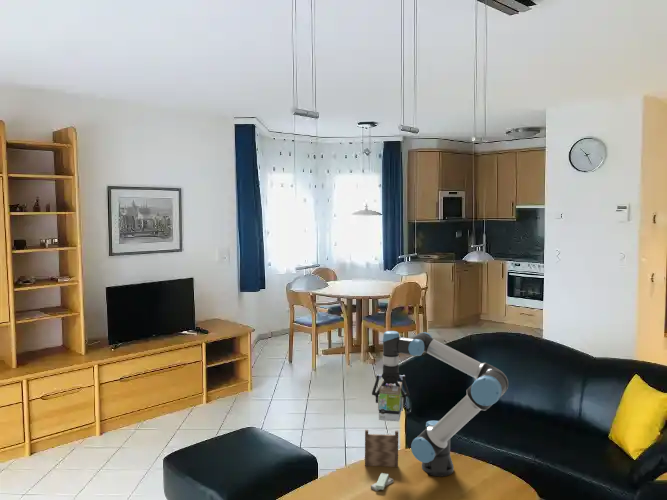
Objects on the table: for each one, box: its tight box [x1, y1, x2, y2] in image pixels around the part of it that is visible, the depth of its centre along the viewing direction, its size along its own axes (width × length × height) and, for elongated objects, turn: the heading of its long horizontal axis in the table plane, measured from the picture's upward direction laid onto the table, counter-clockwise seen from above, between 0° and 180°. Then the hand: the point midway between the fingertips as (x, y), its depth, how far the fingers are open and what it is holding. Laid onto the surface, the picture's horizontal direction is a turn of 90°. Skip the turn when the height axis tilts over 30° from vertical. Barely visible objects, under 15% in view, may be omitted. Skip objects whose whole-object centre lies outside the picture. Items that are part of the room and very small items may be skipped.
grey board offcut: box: [370, 476, 394, 492], centre depth 250 cm, size 12×4×2 cm, turn 137°
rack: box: [364, 429, 399, 468], centre depth 269 cm, size 16×2×18 cm, turn 85°
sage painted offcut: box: [375, 472, 389, 490], centre depth 250 cm, size 12×4×2 cm, turn 164°
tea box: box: [378, 380, 403, 422], centre depth 264 cm, size 15×10×15 cm, turn 169°
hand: (390, 409), depth 264 cm, fingers closed on tea box, 10 cm apart
